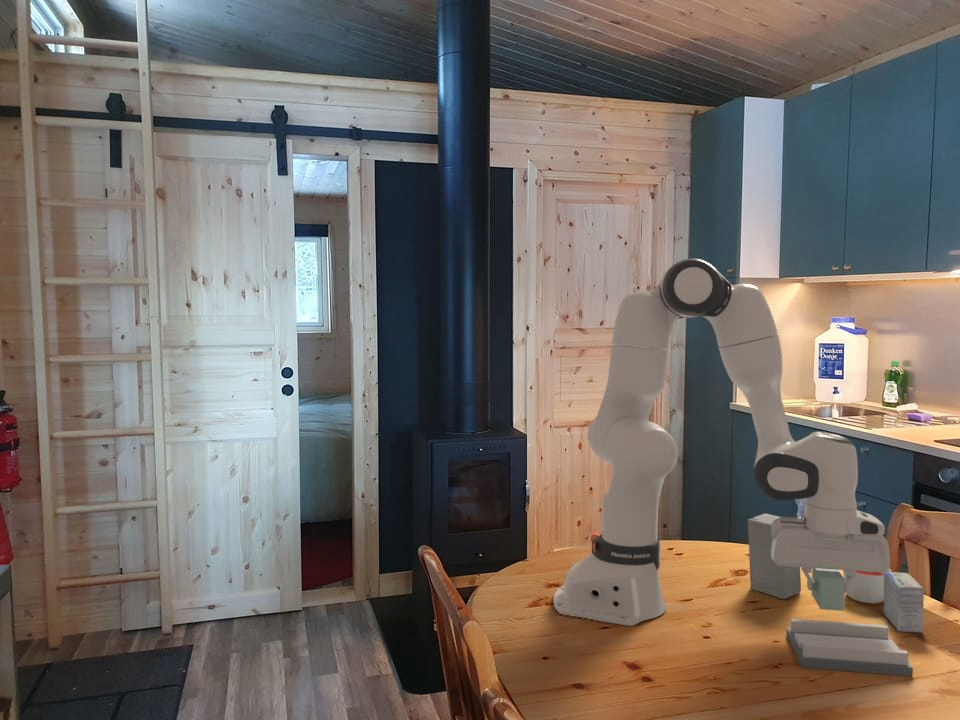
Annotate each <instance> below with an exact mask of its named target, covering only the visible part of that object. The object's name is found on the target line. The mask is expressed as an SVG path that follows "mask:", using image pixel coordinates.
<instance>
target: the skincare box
mask: <svg viewBox="0 0 960 720" xmlns="http://www.w3.org/2000/svg"><path fill="white" fill-rule="evenodd" d="M779 517H780V516H777V515H774V514H769V513H763V514H760V515H756V516H754V517H750V518H748V519H747V531H748V532H747V533H748V553H749V558H748V559H749V578H750V579H749V580H750V581H749V582H750V584H749V585H750V589H751V590H754V591H756V592H760V593H763V594H765V595H769V596H771V597H772V596H773V597H775V598H779V599H782V600H786V599H788V598H790V597H793V596H795V595H798V594H800V593H801V591H802V583H801V581H802V580H801V579H802V578H801V567H789V566H778V565H777V564H776V563H775V562H774V561H773V560H772V557H771V547H772V541H773V537H772V535H771V524H772V522H773V521H774V520H775V519H778V518H779ZM776 522H780V521H776Z"/></svg>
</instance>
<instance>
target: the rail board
mask: <svg viewBox="0 0 960 720" xmlns="http://www.w3.org/2000/svg"><path fill="white" fill-rule="evenodd" d="M786 637H787V639H788V641H789V643H790V645H791V648H792V650H793V653H795V654H794V655H795V656H796V658H797V660H798V663H799V665H800V667H801V668H804V669H805V668H806V669H819V670H830V671H831V670H832V671H841V672H856V673H864V674H865V673H867V674H876V675H877V674H879V675H890V676H901V675H902V676H903V677H912V676H913V674H914V668H913V666H912V665H911V663H910V662H909V652H908V651H907V650H902V649H900V648H899V647H898V645H897V644H896V643H895V642H894V640H893V639H892V638H891V637H890V636H889V627H888V626H887V625H886V624H885V625H883V624H871V623H870V624H869V623H854V622H841V621H840V622H839V621H829V620H828V621H827V620H826V621H825V620H815V619H814V620H811V619H798V618H790V627H786Z"/></svg>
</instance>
